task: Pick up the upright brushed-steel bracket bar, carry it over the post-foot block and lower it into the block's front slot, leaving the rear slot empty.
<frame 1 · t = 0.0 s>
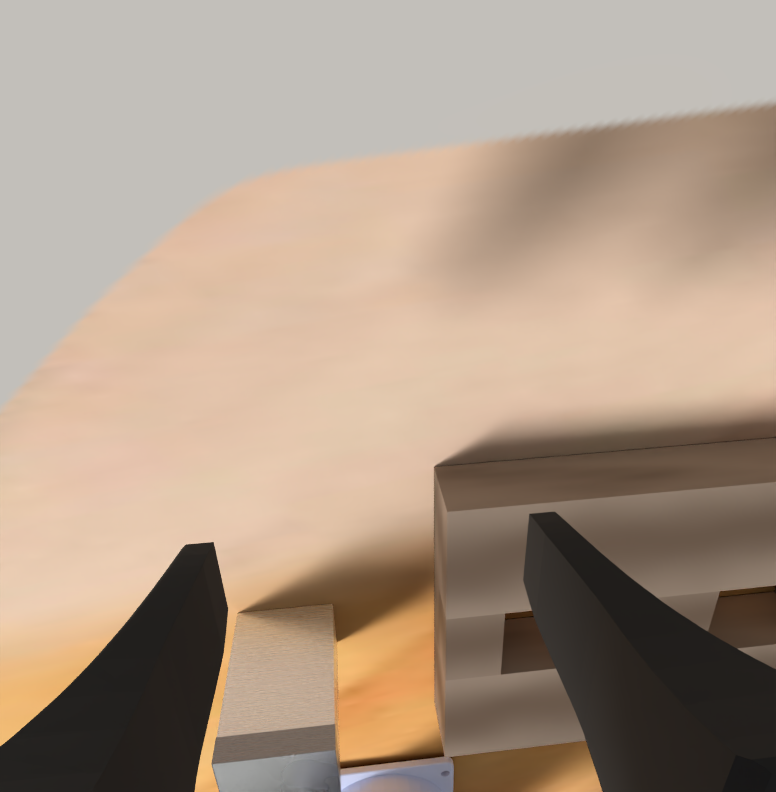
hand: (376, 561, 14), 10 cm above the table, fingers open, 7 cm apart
post foot: (637, 578, 29), on the table
steel bracket: (288, 628, 28), on the table
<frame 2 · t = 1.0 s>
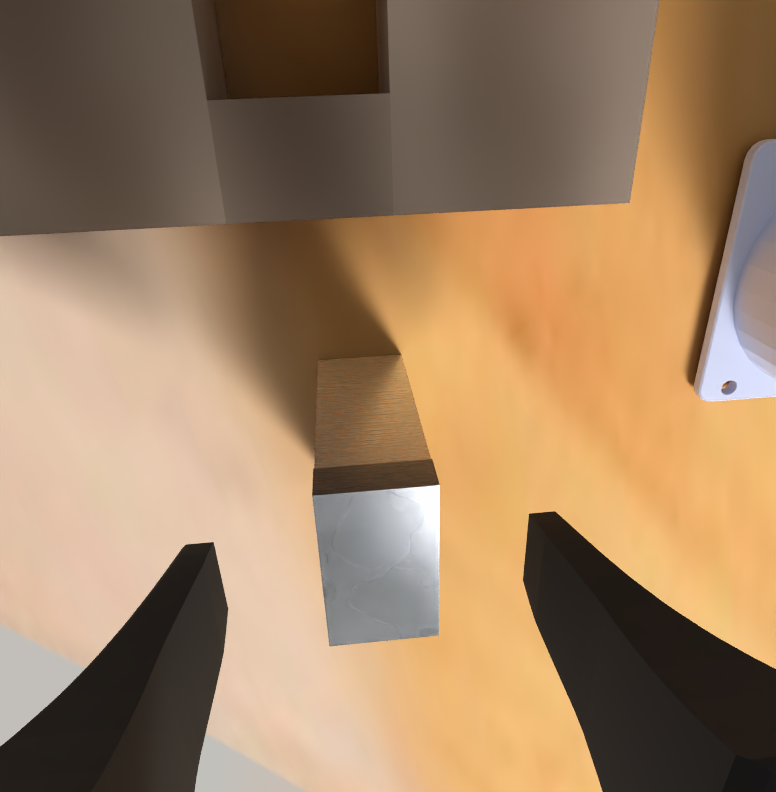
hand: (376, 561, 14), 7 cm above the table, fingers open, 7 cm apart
steel bracket: (363, 418, 20), on the table
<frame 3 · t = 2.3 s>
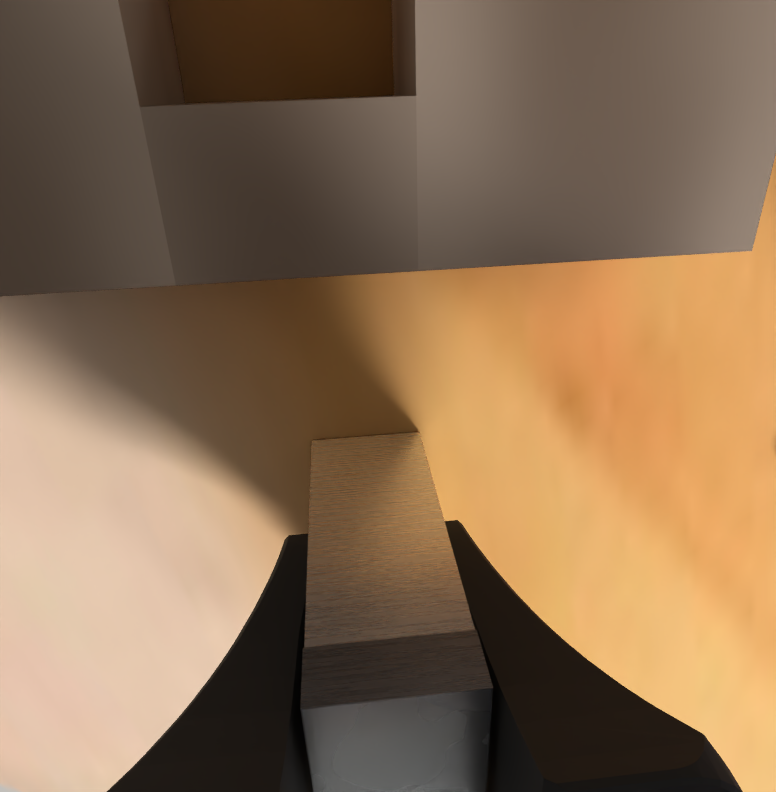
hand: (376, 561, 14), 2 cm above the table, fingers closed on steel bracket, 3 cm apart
steel bracket: (370, 509, 15), on the table, touching gripper
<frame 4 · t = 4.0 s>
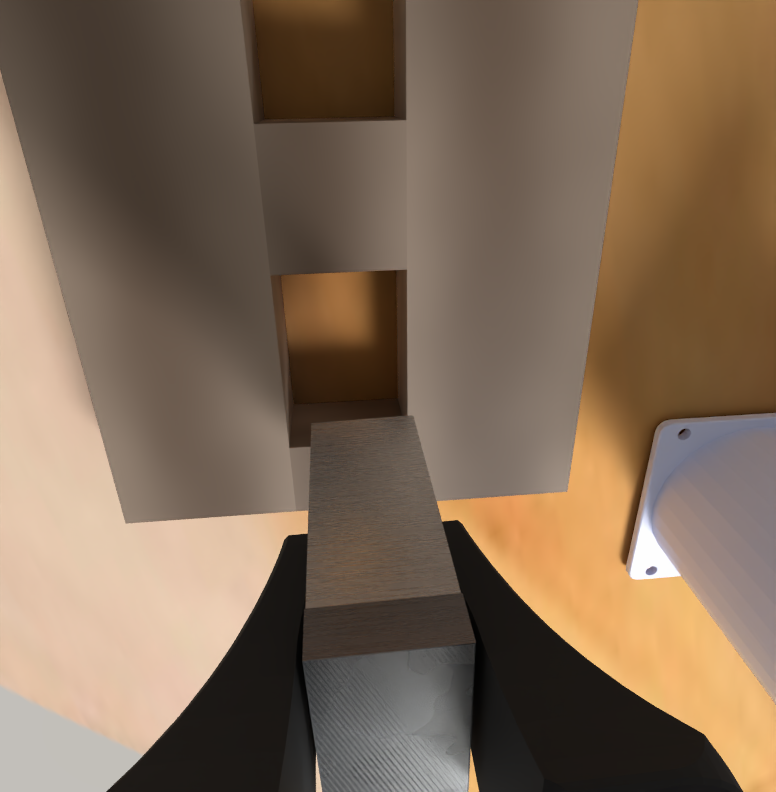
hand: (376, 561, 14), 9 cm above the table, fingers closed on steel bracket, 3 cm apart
post foot: (333, 185, 18), on the table
steel bracket: (367, 488, 16), point 6 cm above the table, touching gripper
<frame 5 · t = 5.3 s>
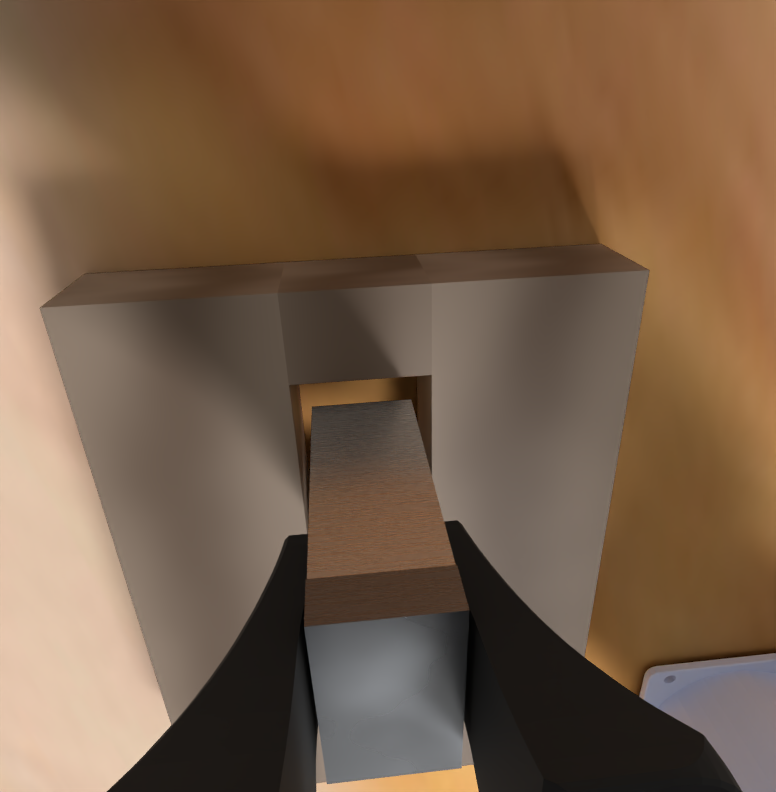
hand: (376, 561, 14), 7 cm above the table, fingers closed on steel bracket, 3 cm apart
post foot: (367, 529, 22), on the table
steel bracket: (366, 471, 17), point 3 cm above the table, touching gripper
when the fingers open (4 cm above the table, at t = 6.2 s): steel bracket stays where it is, resting in post foot.
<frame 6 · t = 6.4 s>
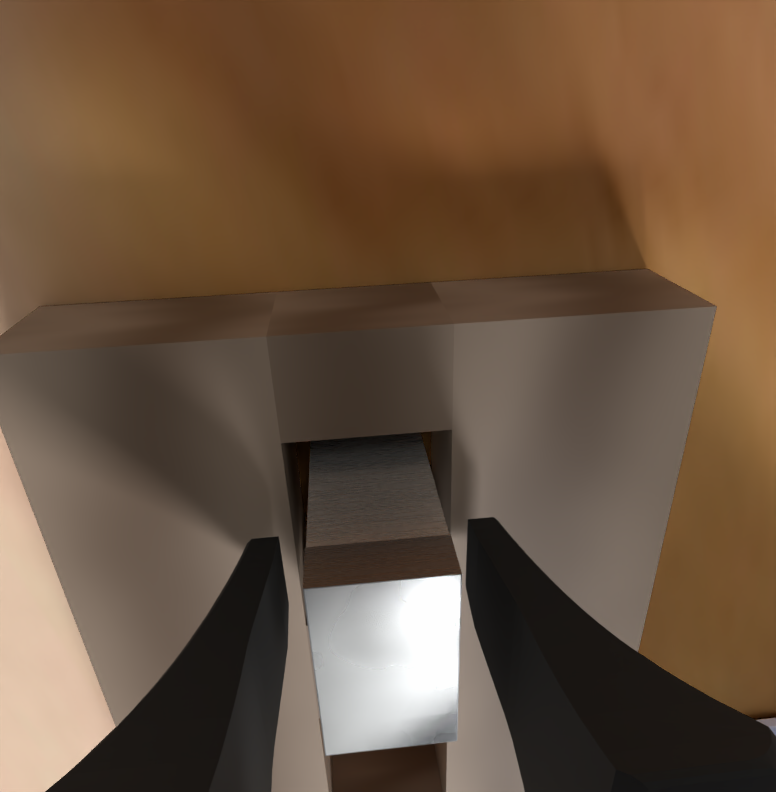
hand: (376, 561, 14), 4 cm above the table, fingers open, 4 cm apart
post foot: (373, 587, 19), on the table
steel bracket: (364, 462, 17), resting in post foot
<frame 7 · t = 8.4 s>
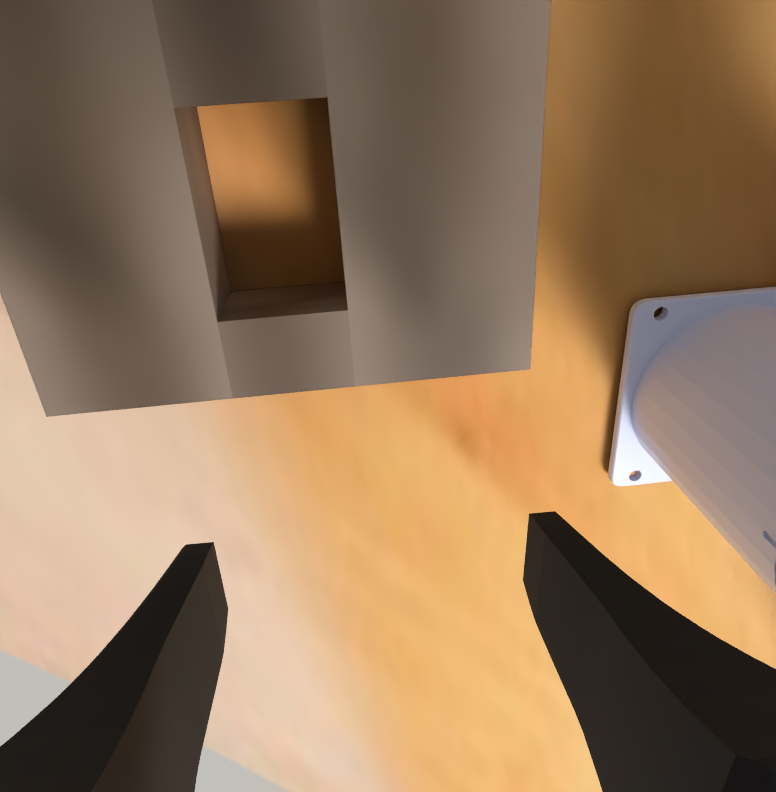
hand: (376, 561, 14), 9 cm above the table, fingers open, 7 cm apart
post foot: (251, 25, 17), on the table
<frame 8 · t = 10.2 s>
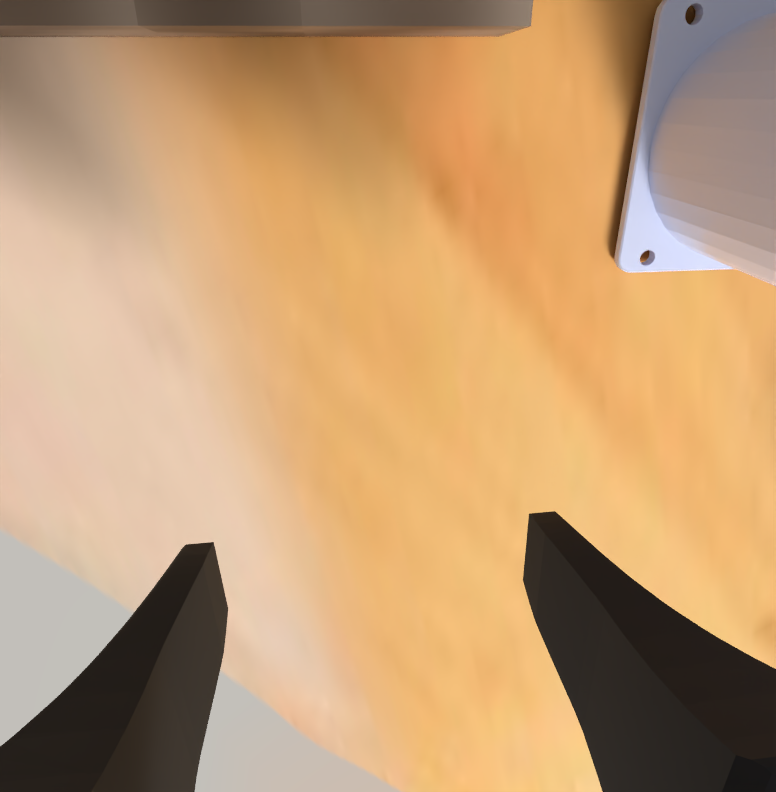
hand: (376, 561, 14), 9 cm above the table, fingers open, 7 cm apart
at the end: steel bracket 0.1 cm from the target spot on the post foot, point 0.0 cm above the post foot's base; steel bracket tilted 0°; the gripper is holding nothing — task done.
